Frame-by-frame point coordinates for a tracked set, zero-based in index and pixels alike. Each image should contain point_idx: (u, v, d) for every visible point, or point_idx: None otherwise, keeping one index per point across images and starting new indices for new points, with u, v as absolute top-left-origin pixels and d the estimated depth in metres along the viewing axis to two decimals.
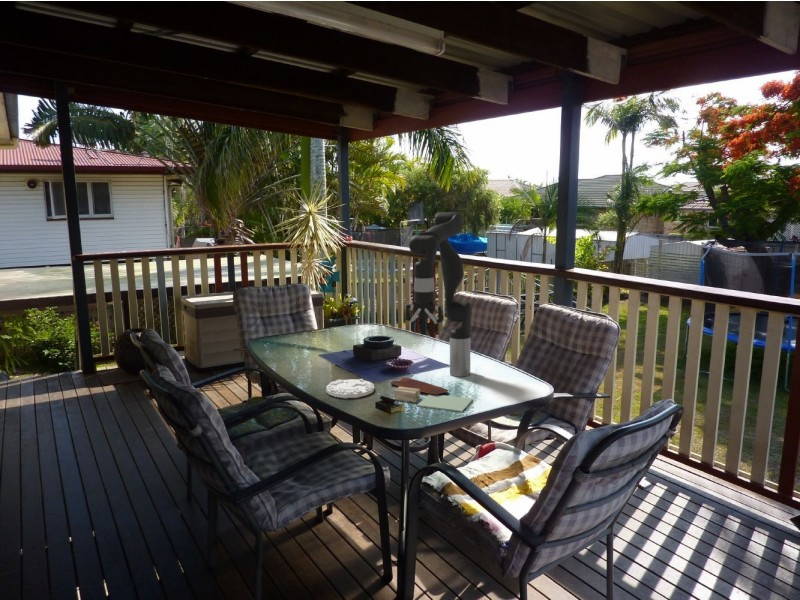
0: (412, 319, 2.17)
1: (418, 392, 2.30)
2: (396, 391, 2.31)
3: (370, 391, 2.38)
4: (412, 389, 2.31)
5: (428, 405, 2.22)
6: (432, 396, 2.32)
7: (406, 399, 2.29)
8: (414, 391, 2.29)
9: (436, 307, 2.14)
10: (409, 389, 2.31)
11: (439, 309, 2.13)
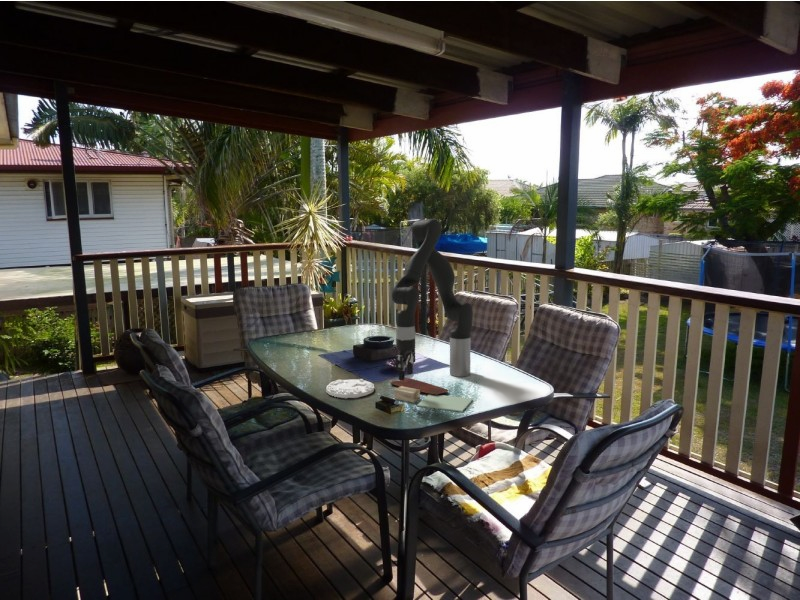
0: (404, 368, 2.25)
1: (417, 393, 2.30)
2: (396, 390, 2.31)
3: (370, 391, 2.38)
4: (412, 389, 2.31)
5: (428, 405, 2.22)
6: (432, 396, 2.32)
7: (405, 399, 2.29)
8: (413, 391, 2.28)
9: (411, 350, 2.33)
10: (409, 389, 2.31)
11: (414, 350, 2.34)
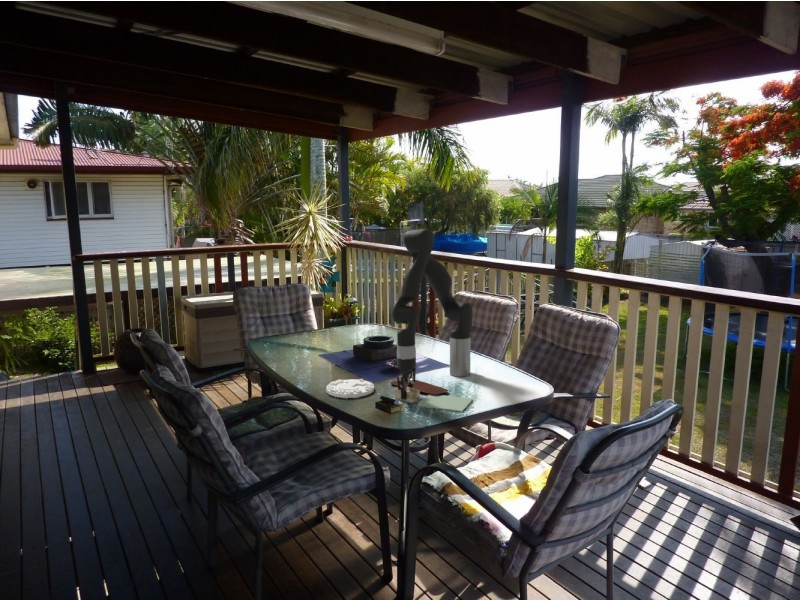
0: (406, 387, 2.27)
1: (417, 393, 2.29)
2: (396, 390, 2.32)
3: (370, 391, 2.38)
4: (412, 389, 2.31)
5: (428, 405, 2.22)
6: (432, 396, 2.32)
7: None
8: (412, 391, 2.28)
9: (412, 369, 2.34)
10: (409, 389, 2.31)
11: (415, 370, 2.35)
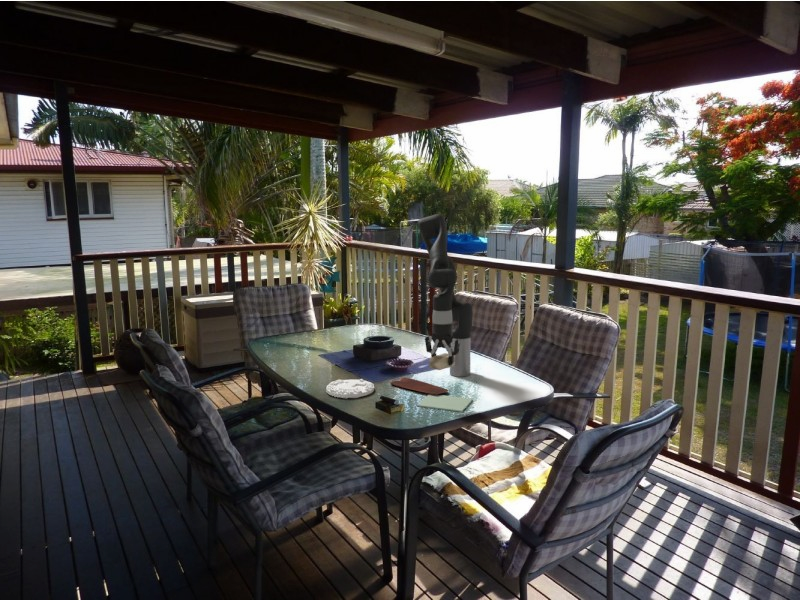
0: None
1: None
2: (441, 360, 2.19)
3: (370, 391, 2.38)
4: (443, 354, 2.25)
5: (428, 405, 2.22)
6: (432, 396, 2.32)
7: None
8: None
9: None
10: (443, 355, 2.24)
11: None
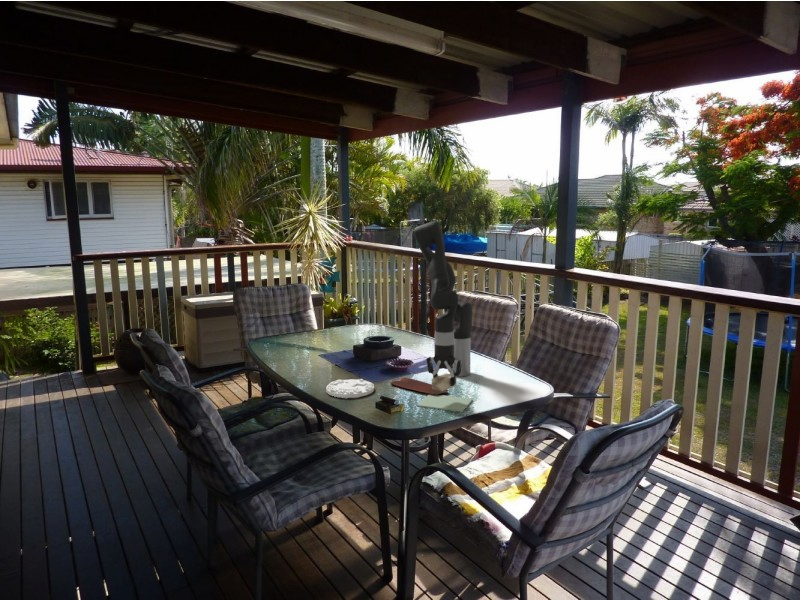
0: None
1: None
2: (443, 381, 2.20)
3: (370, 391, 2.38)
4: (445, 375, 2.26)
5: (428, 405, 2.22)
6: (432, 396, 2.32)
7: None
8: None
9: None
10: (445, 376, 2.25)
11: None
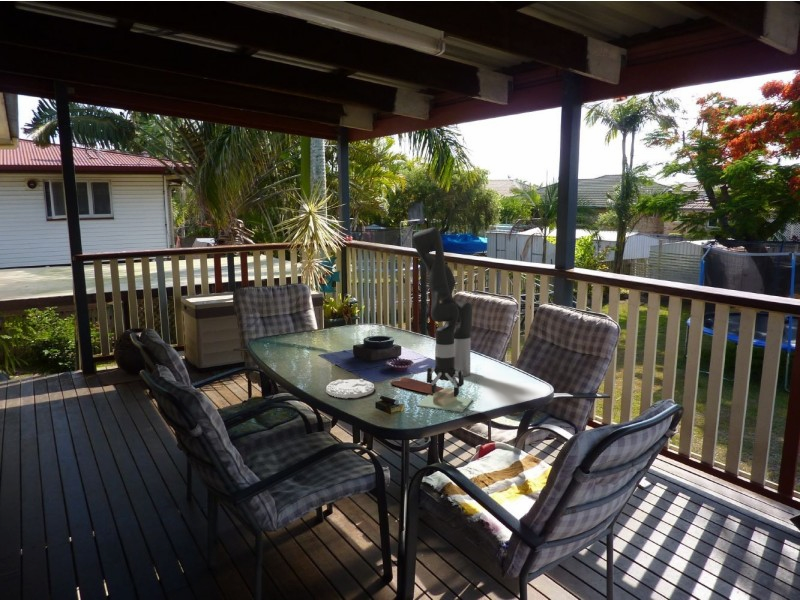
0: None
1: None
2: (445, 396, 2.21)
3: (370, 391, 2.38)
4: (445, 390, 2.27)
5: (428, 405, 2.22)
6: (432, 396, 2.32)
7: (451, 400, 2.25)
8: (452, 389, 2.27)
9: None
10: (446, 391, 2.26)
11: None
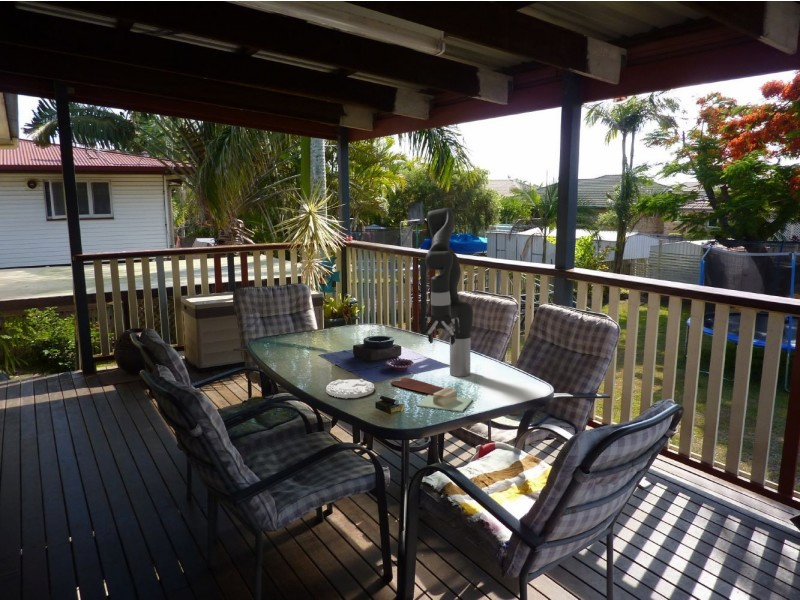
0: None
1: None
2: (445, 396, 2.21)
3: (370, 391, 2.38)
4: (445, 390, 2.27)
5: (428, 405, 2.22)
6: (432, 396, 2.32)
7: (451, 400, 2.25)
8: (452, 389, 2.27)
9: None
10: (446, 391, 2.26)
11: None
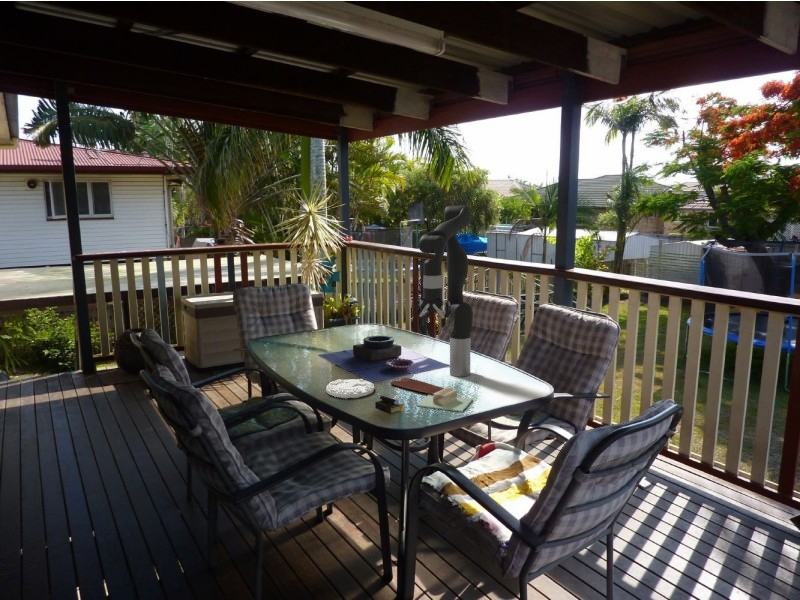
0: None
1: None
2: (445, 396, 2.21)
3: (370, 391, 2.38)
4: (445, 390, 2.27)
5: (428, 405, 2.22)
6: (432, 396, 2.32)
7: (451, 400, 2.25)
8: (452, 389, 2.27)
9: None
10: (446, 391, 2.26)
11: None
